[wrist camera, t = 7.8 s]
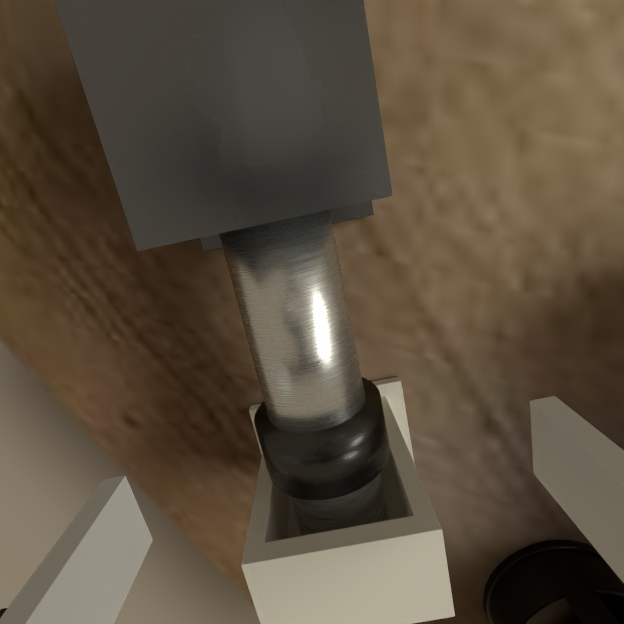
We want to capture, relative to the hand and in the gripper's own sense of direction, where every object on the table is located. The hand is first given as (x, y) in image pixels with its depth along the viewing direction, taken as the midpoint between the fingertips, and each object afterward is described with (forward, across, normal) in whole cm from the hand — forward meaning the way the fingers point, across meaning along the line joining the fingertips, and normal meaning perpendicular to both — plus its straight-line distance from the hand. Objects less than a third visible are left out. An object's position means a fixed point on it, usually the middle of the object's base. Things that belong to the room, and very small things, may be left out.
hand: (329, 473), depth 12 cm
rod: (+6, 0, +2) cm, 7 cm away
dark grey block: (+10, 0, +12) cm, 16 cm away
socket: (+10, 0, -5) cm, 11 cm away
